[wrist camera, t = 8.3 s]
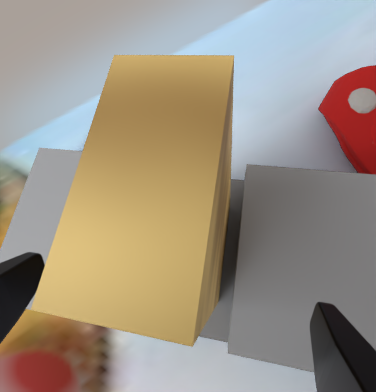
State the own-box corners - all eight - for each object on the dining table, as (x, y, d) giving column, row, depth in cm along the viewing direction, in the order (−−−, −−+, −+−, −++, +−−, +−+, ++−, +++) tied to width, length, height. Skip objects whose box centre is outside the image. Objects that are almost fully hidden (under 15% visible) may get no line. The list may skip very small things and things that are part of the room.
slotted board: (417, 380, 13) (469, 406, 10) (20, 296, 18) (-19, 298, 15) (399, 197, 16) (435, 179, 13) (64, 166, 21) (39, 147, 18)
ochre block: (218, 301, 15) (192, 346, 4) (170, 292, 16) (30, 309, 5) (230, 206, 17) (233, 55, 6) (186, 201, 18) (114, 54, 6)
